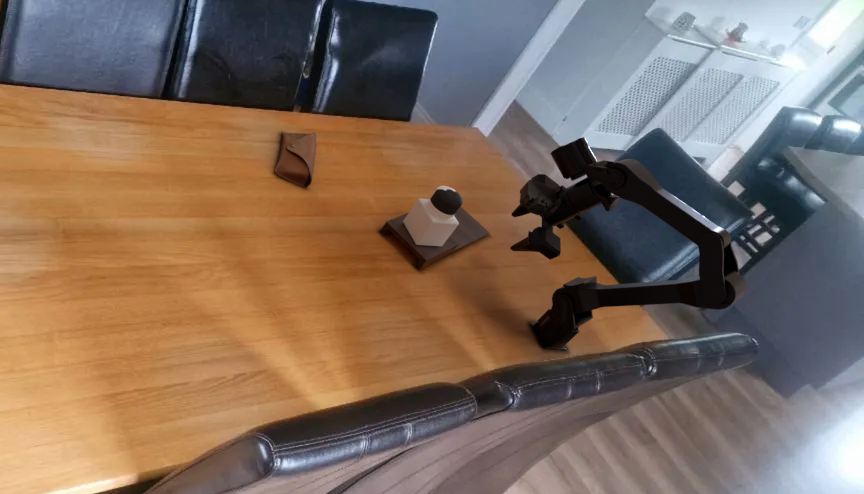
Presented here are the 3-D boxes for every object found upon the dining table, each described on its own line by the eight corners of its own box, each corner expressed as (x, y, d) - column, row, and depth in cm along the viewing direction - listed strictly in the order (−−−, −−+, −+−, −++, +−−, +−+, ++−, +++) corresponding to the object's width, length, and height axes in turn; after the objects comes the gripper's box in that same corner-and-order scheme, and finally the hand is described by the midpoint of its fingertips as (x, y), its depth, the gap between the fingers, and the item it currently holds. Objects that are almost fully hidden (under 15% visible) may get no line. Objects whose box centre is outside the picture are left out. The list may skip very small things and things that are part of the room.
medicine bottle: (442, 247, 150) (473, 206, 143) (415, 245, 147) (446, 204, 139) (427, 223, 155) (456, 183, 147) (401, 221, 151) (430, 180, 144)
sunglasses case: (280, 130, 164) (303, 115, 161) (298, 151, 168) (321, 137, 164) (273, 173, 151) (298, 159, 148) (292, 195, 154) (317, 182, 151)
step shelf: (451, 201, 171) (457, 192, 170) (487, 234, 167) (494, 226, 165) (379, 231, 151) (386, 221, 149) (419, 270, 146) (426, 260, 145)
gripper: (548, 143, 139) (487, 180, 151) (549, 214, 128) (482, 248, 140) (585, 173, 143) (522, 206, 154) (589, 244, 132) (521, 274, 143)
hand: (512, 232), depth 148 cm, fingers open, 9 cm apart
